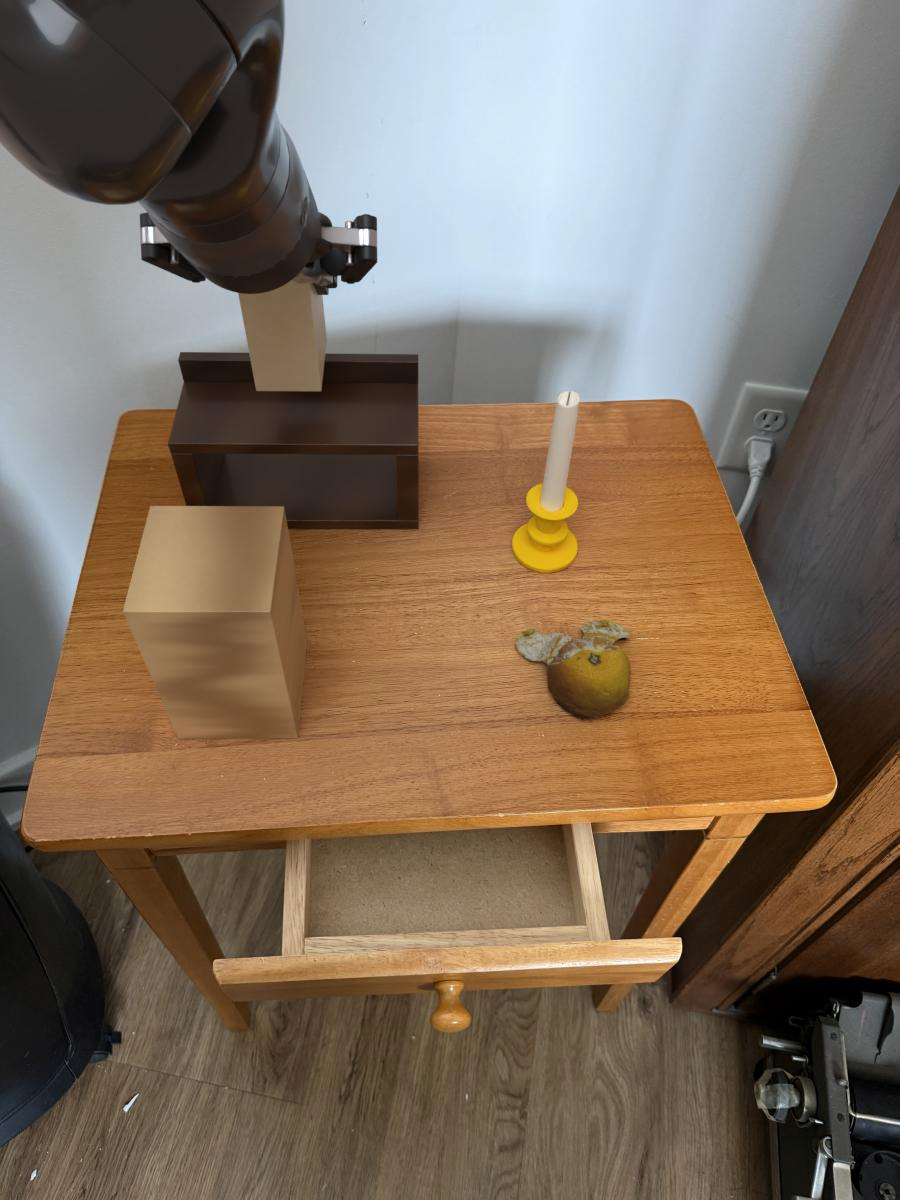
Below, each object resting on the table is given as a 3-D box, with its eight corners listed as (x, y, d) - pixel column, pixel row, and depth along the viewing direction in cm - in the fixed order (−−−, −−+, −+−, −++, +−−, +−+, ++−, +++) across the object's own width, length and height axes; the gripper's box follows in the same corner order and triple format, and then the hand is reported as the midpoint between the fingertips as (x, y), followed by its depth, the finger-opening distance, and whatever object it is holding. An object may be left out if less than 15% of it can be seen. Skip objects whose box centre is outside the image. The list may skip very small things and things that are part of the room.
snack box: (256, 391, 62) (231, 258, 54) (265, 339, 65) (243, 207, 57) (321, 391, 62) (306, 259, 54) (326, 339, 65) (313, 208, 58)
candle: (539, 583, 68) (565, 428, 56) (498, 541, 71) (514, 384, 59) (590, 554, 70) (626, 398, 58) (548, 515, 73) (574, 357, 61)
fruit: (618, 618, 66) (626, 587, 64) (657, 712, 62) (668, 683, 59) (511, 635, 65) (515, 605, 62) (542, 733, 60) (548, 704, 57)
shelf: (192, 528, 71) (160, 421, 62) (207, 459, 76) (180, 351, 67) (418, 529, 72) (418, 423, 63) (418, 460, 76) (418, 354, 68)
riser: (177, 739, 59) (122, 611, 48) (196, 641, 64) (149, 505, 53) (298, 738, 60) (270, 611, 49) (307, 641, 64) (284, 505, 53)
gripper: (377, 116, 43) (390, 222, 60) (79, 112, 43) (177, 220, 60) (379, 276, 44) (391, 336, 61) (87, 274, 44) (180, 335, 61)
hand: (285, 279), depth 60 cm, fingers closed on snack box, 4 cm apart
